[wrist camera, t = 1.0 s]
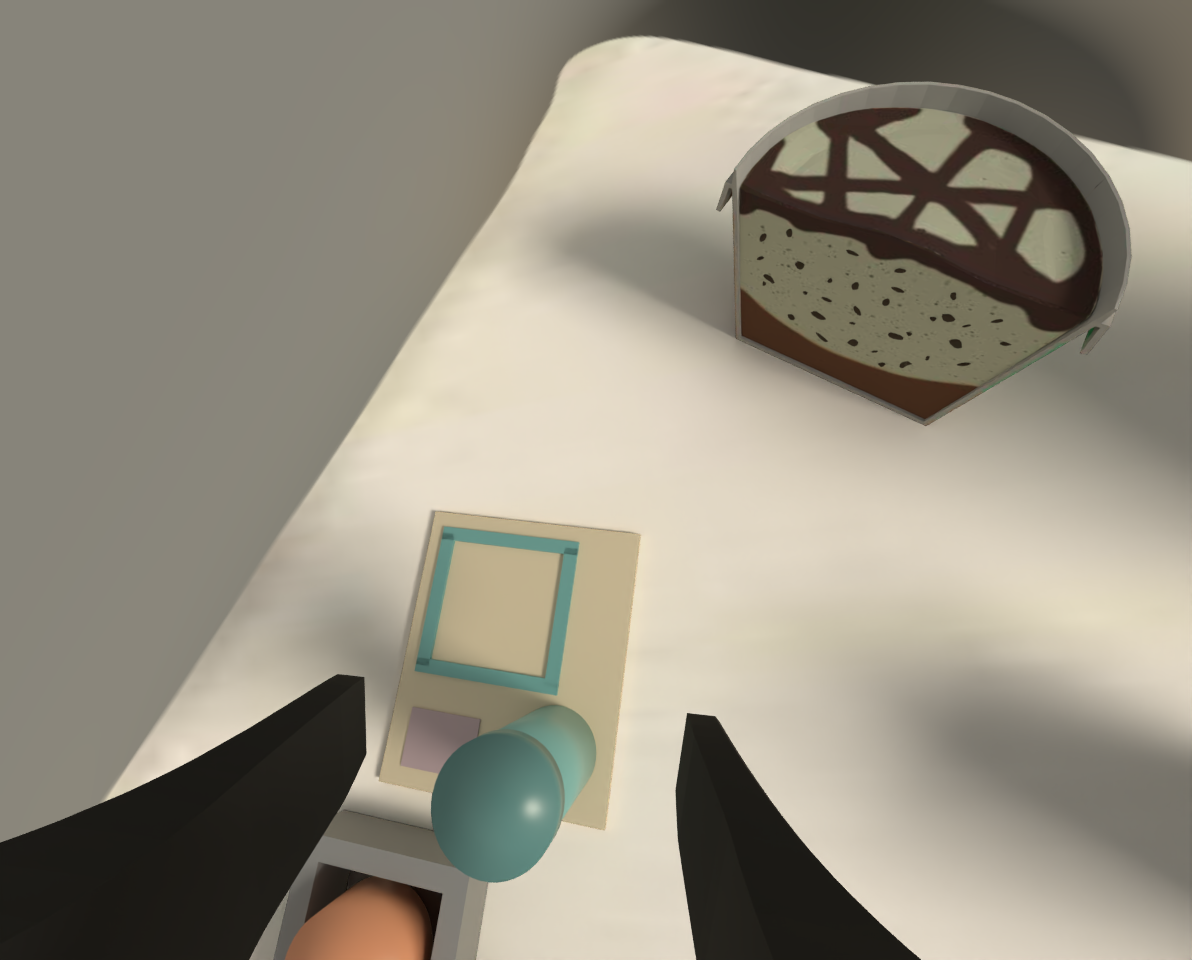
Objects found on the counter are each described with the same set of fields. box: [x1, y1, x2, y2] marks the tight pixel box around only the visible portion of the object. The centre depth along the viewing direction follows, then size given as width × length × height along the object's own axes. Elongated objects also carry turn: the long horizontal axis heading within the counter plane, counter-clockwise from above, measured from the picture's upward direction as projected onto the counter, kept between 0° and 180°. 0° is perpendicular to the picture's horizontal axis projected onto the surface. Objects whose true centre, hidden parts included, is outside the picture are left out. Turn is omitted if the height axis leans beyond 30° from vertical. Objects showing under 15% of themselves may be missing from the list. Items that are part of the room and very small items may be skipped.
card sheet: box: [379, 512, 641, 830], centre depth 24 cm, size 12×10×1 cm
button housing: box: [274, 810, 488, 960], centre depth 21 cm, size 7×7×3 cm
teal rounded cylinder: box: [431, 705, 596, 882], centre depth 19 cm, size 4×4×8 cm
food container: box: [716, 82, 1131, 426], centre depth 21 cm, size 12×6×10 cm, turn 57°
